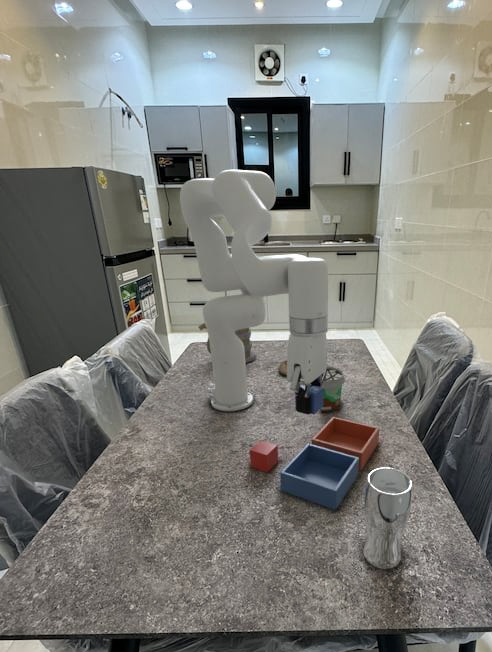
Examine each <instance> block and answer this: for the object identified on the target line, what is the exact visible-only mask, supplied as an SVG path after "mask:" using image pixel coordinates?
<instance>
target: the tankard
mask: <svg viewBox="0 0 492 652" xmlns="http://www.w3.org/2000/svg"><path fill="white" fill-rule="evenodd" d="M198 329H199V330H200V331H202V330H204V329H205V330H207V328H206V325H205V322H203V323H201V324H200V325H198ZM235 334H236V335H237V336H238V337H239V338H240V340H241V341H242V342H243V345H244V350H245V363H246V364H247V363H250V362H253V361H254V358H255V352H254V351H252V346H253V344H252V340H251V336H252V330H251V327H250V328H245V329H240V330H237V331H235ZM206 350H207V352H208V353H209V354H210V355H211V349H210V342H209V336H208V335H207V340H206Z"/></svg>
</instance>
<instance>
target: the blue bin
mask: <svg viewBox="0 0 492 652" xmlns="http://www.w3.org/2000/svg"><path fill="white" fill-rule="evenodd" d="M358 468H359V458H358V457H355V456H351V455H348V454H344V453H341V452H337V451H334V450H330V449H327V448H323V447H319V446H316V445H312V443H306V445H304V447H303V448H302V449H301V450H300V451H299V452H298V453H297V454H296V455H295V457H293V458H292V460H291V461H290V462H288V464H287V465H286V466H285V467H284V468H283V469H282V470H281V471H280V472H279V474H280V475H279V476H280V477H279V479H280V491H281V492H283V493H286V494H290V495H292V496H295V497H297V498H300V499H303V500H306V501H308V502H311V503H315V504H317V505H320V506H323V507H326V508H329V509H331V510H334V511H336V510H337V509H338V507H339V505H340V504H341V503H342V501H343V499H344V498H345V496H346V495H347V493H348V492H349V490H350V488H351V487H352V485H353V484H354V482H355V481H356V479H357V478H358V476H359V470H358Z"/></svg>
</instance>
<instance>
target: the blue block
mask: <svg viewBox="0 0 492 652" xmlns="http://www.w3.org/2000/svg"><path fill="white" fill-rule="evenodd" d="M300 387H302V388H303V389H304V390H305V385H300ZM309 396H311V413H310V414H309V415H316V414H317V413H318V412H319V411H321V408H322V407H323V387H320V386H314V385H311V384H310V392H309ZM294 397H295V398H294V402H295V405H294V407H295V408H296V396H295V395H294ZM295 411H296V412H297V410H296V409H295Z"/></svg>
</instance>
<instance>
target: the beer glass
mask: <svg viewBox="0 0 492 652" xmlns="http://www.w3.org/2000/svg"><path fill="white" fill-rule="evenodd" d="M412 498H413V481H412V479H411V477H410V476H409V475H408V473H406V472H404V471H402V470H400V469H397V468H395V467H394V468H393V467H379V468H375V469H373V470H372V471H370V473H368V475H367V482H366V487H365V492H364V505H363V506H364V507H363V508H364V518H365V525H366V533H367V534H366V540H365V543H364V545H363V556H364V558H365V560H366V561H367V562H368V563H369V564H370V565H371V566H373V567H375V568H377V569H381V570H389V569H393V568H395V567H396V566H398V565H400V564H399V563H401V560H402V549H401V542H402V537H403V535H404V532H405V530H406V527H407V524H408V521H409V518H410V515H411V509H412V500H413V499H412Z"/></svg>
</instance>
